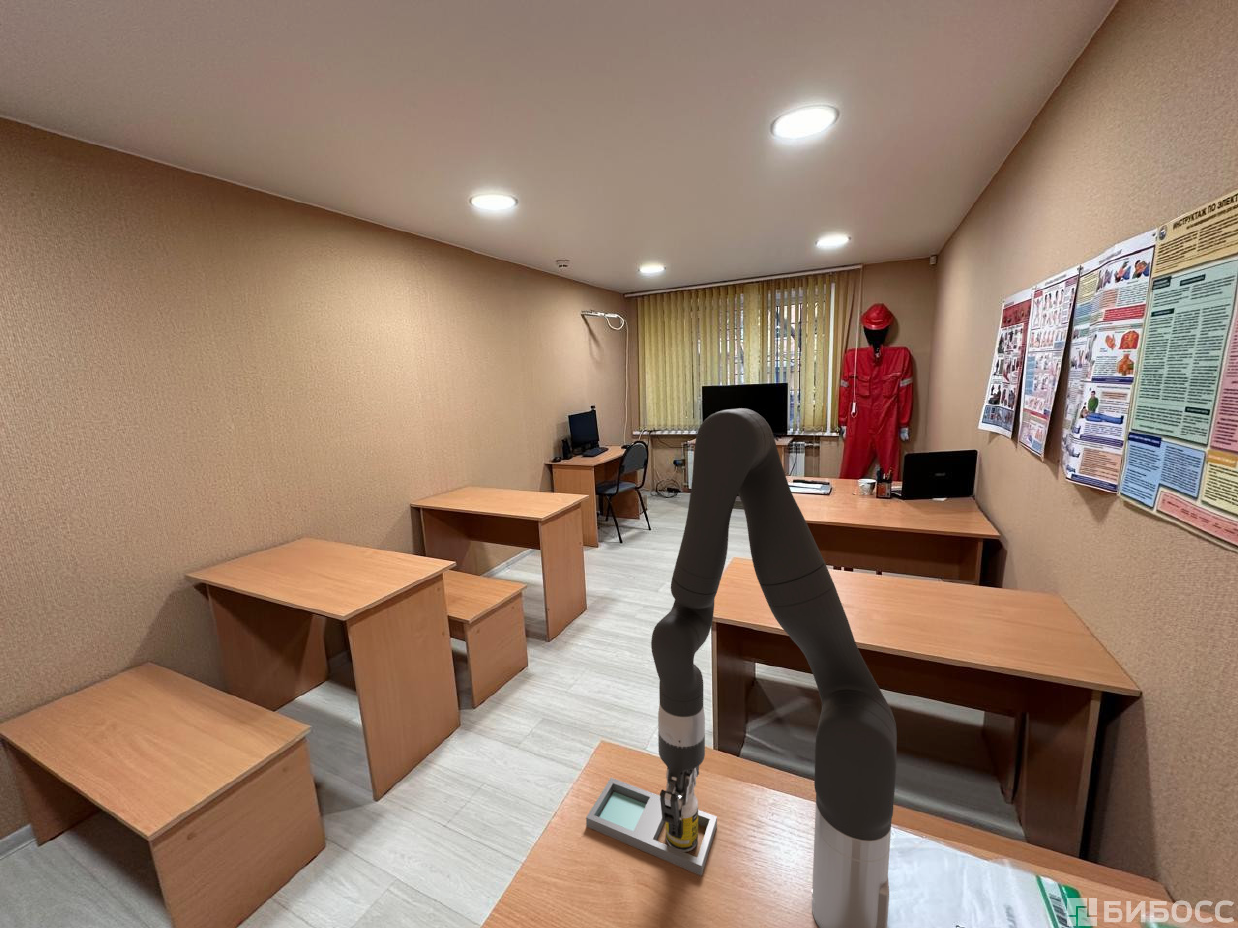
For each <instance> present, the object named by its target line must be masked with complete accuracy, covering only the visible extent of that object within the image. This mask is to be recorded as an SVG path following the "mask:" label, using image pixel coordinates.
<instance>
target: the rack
mask: <svg viewBox="0 0 1238 928" xmlns="http://www.w3.org/2000/svg"><path fill="white" fill-rule="evenodd" d="M585 819H586V820H585V823H586V824H585V825H586V828H589V829H590V830H593V831H596V832H598V833H600V834H602V835H605V836H606V837H610V838H612V839H614V840H617V841H619V842H621V843H623V844H626V845H629V846H631V847H633V848H636V849H638V850H640V851H643V852H644V853H647V854H650V855H651V856H654V857H656V858H659V859H661V860H663V861H665V862H668V863H670V864H673V865H675V866H677V867H679V868H682V869H684V870H687V871H689V872H691V873H694V874H696V875H698V876H700V877H702V876H703V872H704V871H705V867H706V863H707V860H708V856H709V852H710V850H711V848H712V847H711V846H712V844H713V840H714V836H715V833H716V830H717V827H718V816H717V815H714V814H711V813H708V812H705V811H703V810H700V809H698V826H699V825H700V826H702V827H705V828H706V830H705V832H704V833H705V834H704V836H703V838H702V841H701V845H700V849H699V850H698V851H699V852H698V854H697V856H694V855H692V854H689V853H687V852H682V851H680V850H678V849H675V848H673V847H670V845H669V844H665V843H664V842H663V843H662V842H660V841H658V838H659V835H660V833H661V831H662V829H663V826H664V824H665V823H666V822H665V821H663V820H662V811H661V802H660V794H656V793H655V792H652V791H648V790H646V789H643V788H640V787H638V786H635V785H633V784H629V783H627V782H624V781H622V780H618V779H616V778H614V777H613V778H612V777H610V778H609V780H608V781H607V783H606V784H605V786H604V788H603V790H602V791H601V792H600V794H599V796H598V798H597V799H596V801H595V802H594V803H593V806H592V807H591V809H590V811H588V814H587V815H586V817H585Z"/></svg>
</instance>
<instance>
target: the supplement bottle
mask: <svg viewBox="0 0 1238 928" xmlns="http://www.w3.org/2000/svg"><path fill="white" fill-rule="evenodd" d="M675 794H678V795H680V796H683V793H679V792H676V791H675ZM678 806H679V804H678ZM698 810H699V801H698V798H697V796H696V794H695V788H694V785H693V783H692V782H691V783H690V785H689V793H688V801H687V803H686V804H685V805H684V811H683V835H682V838H681V839H678V838H676V837H673V836H671V835H670V834H669V823H667V822H665V840H666V843H667V845H668V846H670V847H673V848H675V849H678V850H680V851H682V852H685V853H687V852H690V851H693V849H695V848H696V846H697V844H698V840H699V824H698Z"/></svg>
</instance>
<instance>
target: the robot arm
mask: <svg viewBox="0 0 1238 928" xmlns="http://www.w3.org/2000/svg"><path fill="white" fill-rule="evenodd" d="M772 430H773V429H772V428H771V426H770V425H769V423H768V421H766V419H765V418H764V417H763V416H762V415H760V414H759V413H758V412H756V411H754V410H752V409H749V408H742V407H741V408H740V407H739V408H730V409H722V410H720V411H716V412H715V413H712V414H710V415H709V416H708V417H707V418H705V419H704V421H703V422H702V423H701V424H700V426H699V428H698V430H697V433H696V436H695V443H694V451H693V452H694V453H693V461H692V465H693V466H692V474H691V475H692V478H691V488H690V495H689V503H688V509H687V516H686V519H685V520H686V521H685V526H684V530H683V535H682V539H681V542H680V546H679V551H678V554H677V558H676V561H675V566H674V570H673V574H672V576H671V577H672V578H671V582H670V592H671V595H672V598H673V599H674V601H673V604H672V607H671V609H670V611H669V612H668V613H667V614H666V615H665V616H664V617H663V618H661V619H660V620H659V621H658V622H657V623H656V625H655V626H654V628H653V631H652V634H651V639H650V640H651V642H650V645H651V646H650V648H651V653H652V654H651V655H652V657H653V662H654V665H655V670H656V673H657V676H658V679H659V683H658V684H659V686H658V687H659V690H658V691H659V692H658V693H659V699H658V700H659V703H658V704H659V706H658V713H657V722H658V723H657V725H658V726H657V730H658V733H657V737H658V739H657V741H658V754H659V758H660V759H661V761H662V762H663V763H664V764H665V766H666V767H667V768H666V773H665V779H666V786H665V790H664V789H661V790H660V793H659V795H660V802H661V811H662V820H663V821H665V822H664V823H666V822H667V823H669V834H670V835H671V836H673V837H676V838H678V839H681V838H682V835H683V811H684V805H685V804H686V803H687V801H688V793H689V785H690V783H691V782H692V783H693V785H694V789H695V788H696V786H697V777H698V776H699V775H700V766H701V765H702V763H703V762H704V759H705V755H706V746H705V745H706V716H705V710H704V708H705V707H704V676H703V673H702V671H701V669H700V668H699V666H697V665H696V664H695V663H694V661H695V656H696V655H695V654H696V653H697V652H698V651H699V650H700V648H701V647H702V646H703V644H705V642H706V641H707V639H708V637H709V635H710V631H711V629H712V625H713V620H714V612H715V598H716V596H717V592H718V590H719V586H720V583H721V580H722V576H723V573H724V571H725V570H724V569H725V566H726V562H727V555H728V547H729V531H730V524H731V519H732V514H733V513H732V512H733V508H734V505H735V503H736V499H737V497H739V499H740V502H741V505H742V508H743V511H744V515H745V519H746V526H747V533H748V543H749V550H750V555H751V560H752V565H753V569H754V572H755V575H756V579H757V581H758V584H759V586H760V588H761V590H762V593H763V596H764V598H765V600H766V602H767V605H768V607H769V609H770V611H771V613H772V615H773V617H774V618H775V621H776V622H777V623H778V624H779V626H780V627H781V628H782V630H783V631H784V632H785V633H786V634H787V635H788V637H790V639H791V640H792V641H793V642H794V644H795V645H796V646H797V647H798V648H799V649H800V651H801V652H802V654H803V655H804V657H805V659H806V661H807V663H808V666H809V668H810V671H811V674H812V675H813V678H814V681H815V684H816V687H817V690H818V693H819V698H820V702H821V711H820V716H819V720H818V724H817V729H816V734H815V746H814V748H815V749H814V790H815V812H814V813H815V815H814V817H815V818H814V837H813V838H814V840H813V857H812V858H813V861H812V864H813V865H812V886H811V911H812V913H813V914H812V915H813V917H814V920H815V922H816V923H815V924H816V925H817V927H818V928H888V921H889V905H890V904H889V903H890V885H889V867H890V866H889V863H890V848H891V834H892V833H891V832H892V820H893V819H892V818H893V816H894V804H895V791H896V789H895V788H896V776H897V735H898V734H897V724H896V720H895V716H894V714H893V711H892V709H891V707H890V705H889V703H888V701H887V699H886V698H885V696H884V694H883V693H882V691H881V689H880V687H879V685H878V683H877V682H876V680H875V679H874V676H873V674H872V673H871V671H870V669H869V667H868V665H867V663H866V662H865V659H864V658H863V656H862V654H861V652H860V649H859V648H858V645H857V643H856V640H855V638H854V634H853V631H852V629H851V625H850V622H849V619H848V617H847V613H846V611H845V609H844V606H843V604H842V602H841V601H842V600H841V598H840V596H839V593H838V591H837V587H836V584H835V582H834V581H833V578H832V576H831V574H830V571H829V569H828V566H827V564H826V561H825V560H824V558H823V555H822V554H821V551H820V549H819V547H818V545H817V543H816V541H815V539H814V536H813V533H812V531H811V530H810V528H809V526H808V522H807V521H806V518H805V517H804V515H803V514H802V511H801V508H800V507H799V505H798V503H797V500H796V499H795V496H794V494H793V492H792V491H791V488H790V484H789V482H788V479H787V476H786V472H785V470H784V467H783V464H782V460H781V458H780V454H779V450H778V447H777V443H776V440H775V437H774V433H773V431H772ZM675 791H676V792H679V793H683V796H680V795H678V794H675ZM678 804H679V806H678Z"/></svg>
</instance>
